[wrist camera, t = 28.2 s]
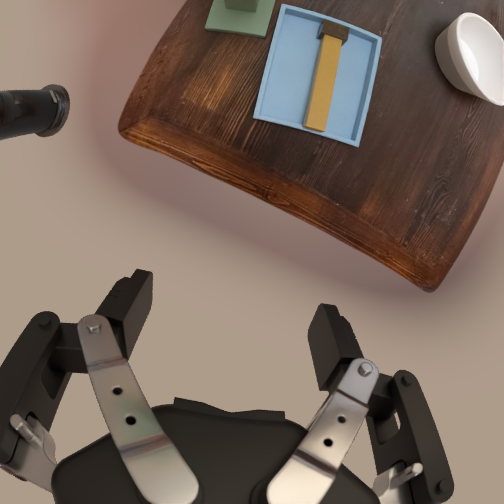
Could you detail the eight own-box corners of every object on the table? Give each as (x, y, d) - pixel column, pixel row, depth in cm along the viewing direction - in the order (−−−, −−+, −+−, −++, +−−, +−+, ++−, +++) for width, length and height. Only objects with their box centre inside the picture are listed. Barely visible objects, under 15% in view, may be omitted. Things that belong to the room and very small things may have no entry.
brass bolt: (297, 126, 39) (302, 124, 36) (319, 26, 32) (324, 18, 29) (324, 134, 39) (330, 132, 36) (343, 34, 33) (349, 27, 30)
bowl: (454, 115, 38) (488, 119, 28) (408, 33, 31) (439, 20, 22) (494, 88, 33) (525, 90, 23) (456, 15, 26) (485, 7, 17)
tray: (252, 118, 41) (252, 117, 38) (280, 10, 32) (281, 3, 29) (351, 145, 43) (358, 147, 40) (375, 41, 33) (382, 37, 30)
